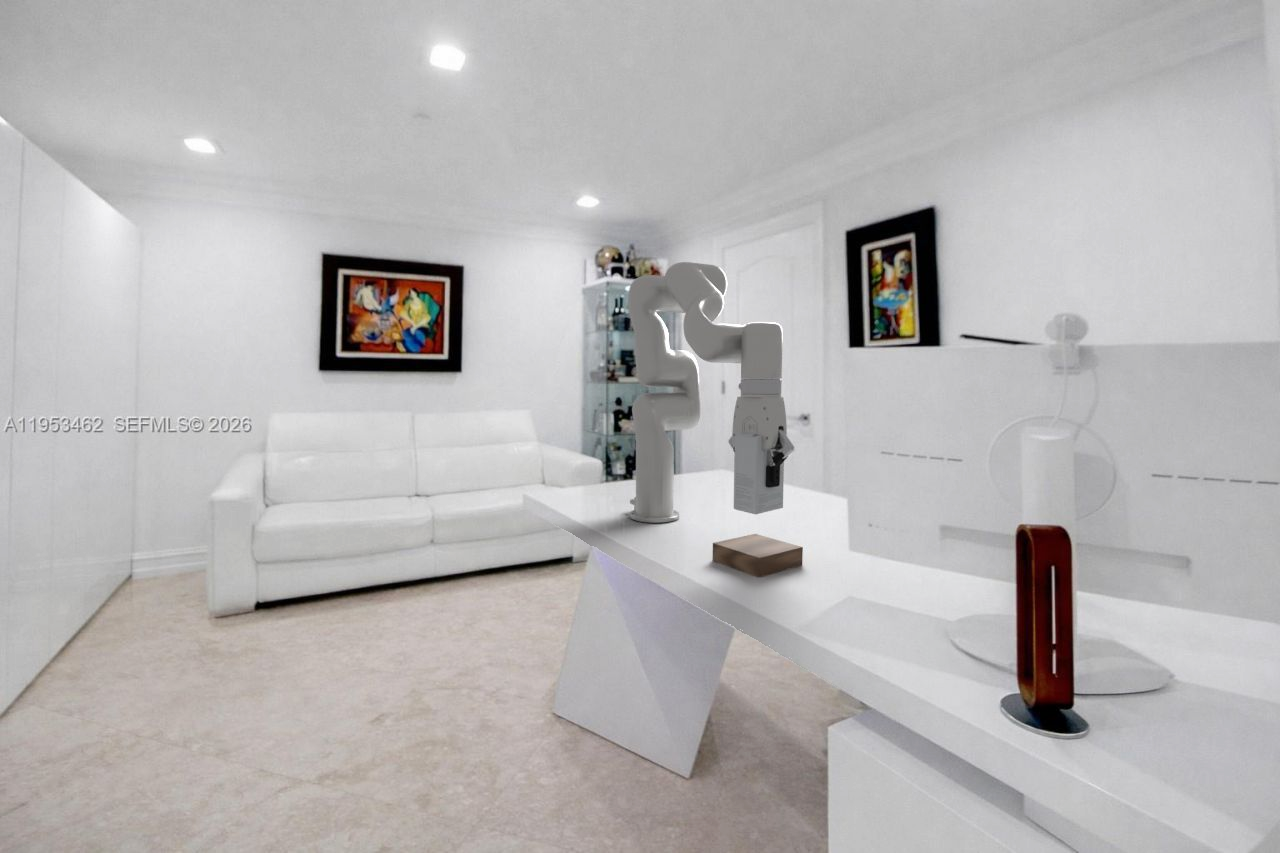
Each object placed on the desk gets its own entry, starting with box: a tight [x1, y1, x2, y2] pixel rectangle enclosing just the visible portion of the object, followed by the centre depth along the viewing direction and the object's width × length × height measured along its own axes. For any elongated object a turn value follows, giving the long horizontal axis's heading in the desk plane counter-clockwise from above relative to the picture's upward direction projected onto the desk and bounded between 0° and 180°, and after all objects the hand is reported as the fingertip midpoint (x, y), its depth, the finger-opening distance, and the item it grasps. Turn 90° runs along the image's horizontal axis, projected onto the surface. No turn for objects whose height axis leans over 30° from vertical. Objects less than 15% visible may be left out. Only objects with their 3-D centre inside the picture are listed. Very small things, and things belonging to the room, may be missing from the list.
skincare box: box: [733, 433, 785, 515], centre depth 114 cm, size 8×6×15 cm
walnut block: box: [712, 533, 804, 578], centre depth 116 cm, size 12×12×4 cm
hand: (759, 483), depth 115 cm, fingers closed on skincare box, 6 cm apart
